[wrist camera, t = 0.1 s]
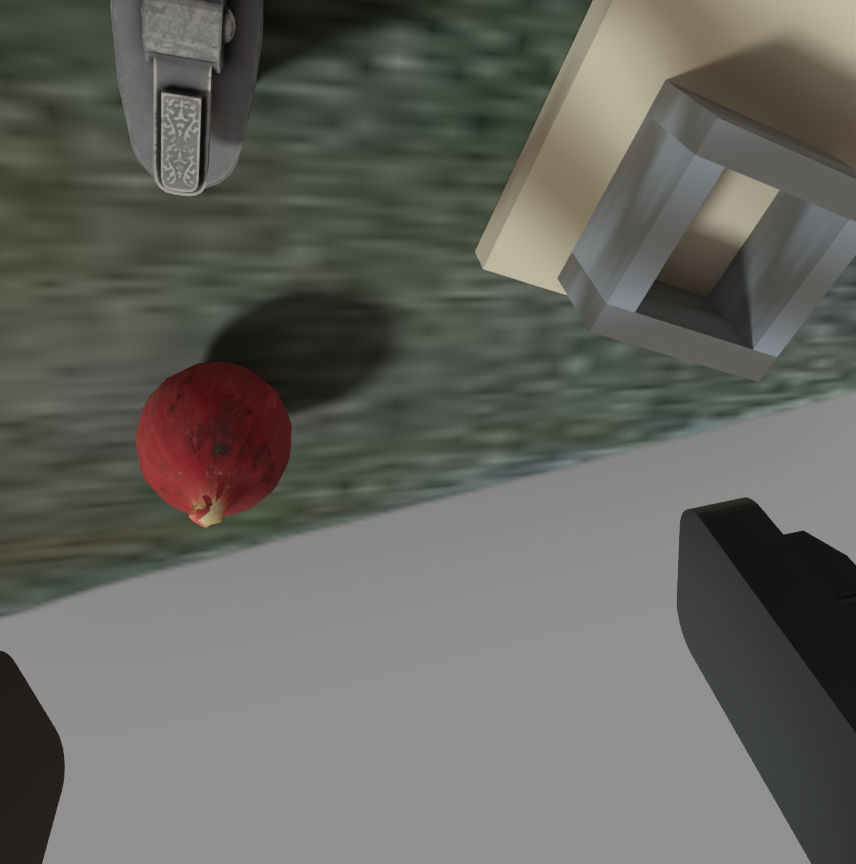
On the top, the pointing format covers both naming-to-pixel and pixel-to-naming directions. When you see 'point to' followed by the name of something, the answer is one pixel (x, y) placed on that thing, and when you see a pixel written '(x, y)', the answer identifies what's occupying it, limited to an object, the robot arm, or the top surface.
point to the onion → (213, 440)
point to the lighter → (187, 85)
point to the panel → (691, 176)
